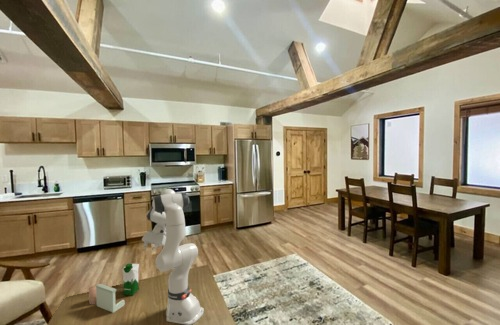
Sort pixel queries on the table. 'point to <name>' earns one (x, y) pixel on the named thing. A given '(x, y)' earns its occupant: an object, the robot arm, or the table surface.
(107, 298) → the display nook
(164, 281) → the table surface
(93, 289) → the terracotta jar
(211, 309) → the table surface
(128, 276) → the soya milk
